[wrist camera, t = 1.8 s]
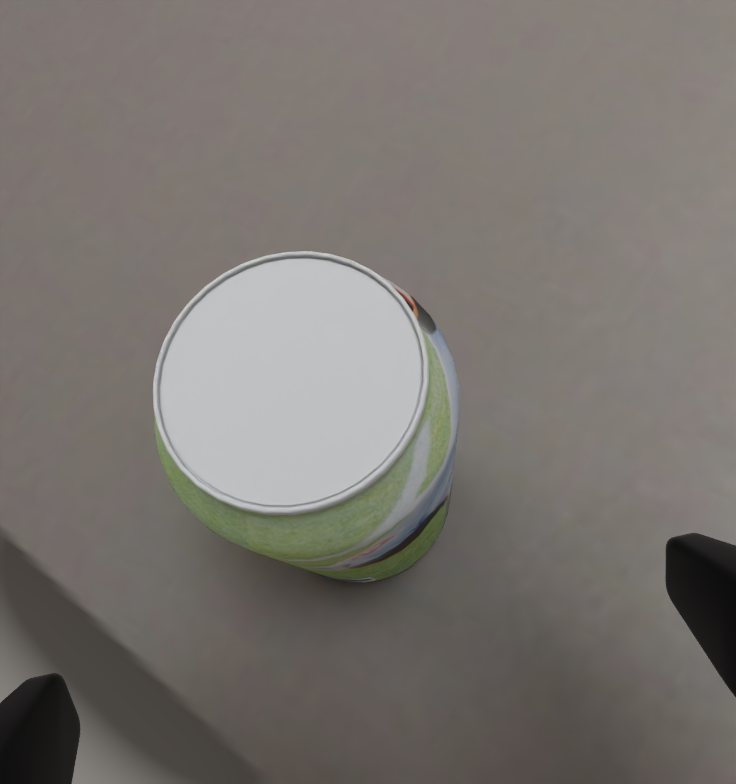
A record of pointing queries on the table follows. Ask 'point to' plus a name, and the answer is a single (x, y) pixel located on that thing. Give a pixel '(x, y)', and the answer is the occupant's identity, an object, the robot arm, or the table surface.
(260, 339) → the beverage can
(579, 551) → the table surface
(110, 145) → the table surface
